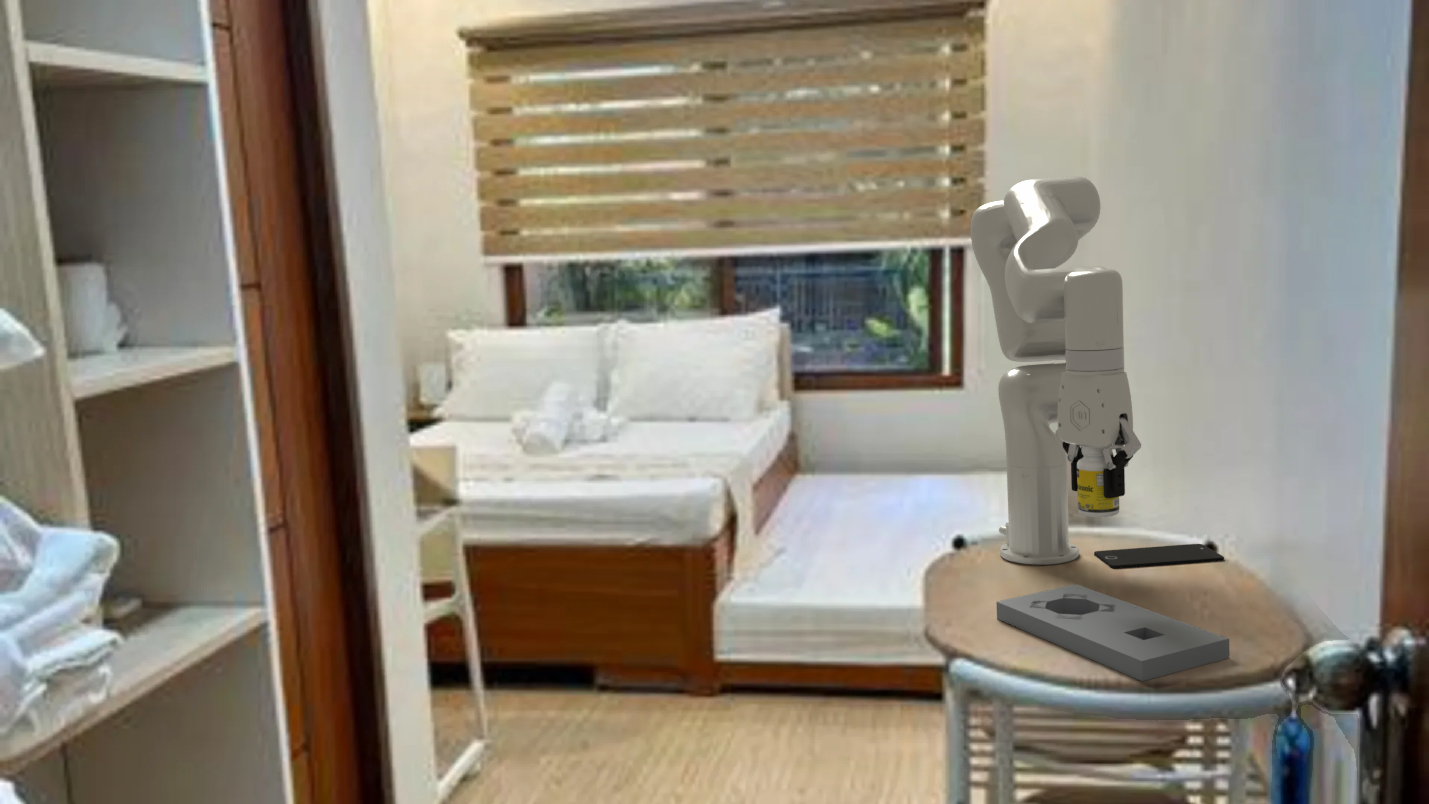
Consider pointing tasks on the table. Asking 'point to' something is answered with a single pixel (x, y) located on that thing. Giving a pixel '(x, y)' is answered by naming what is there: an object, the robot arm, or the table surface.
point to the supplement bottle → (1093, 485)
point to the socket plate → (1113, 631)
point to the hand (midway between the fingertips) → (1097, 491)
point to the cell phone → (1158, 556)
